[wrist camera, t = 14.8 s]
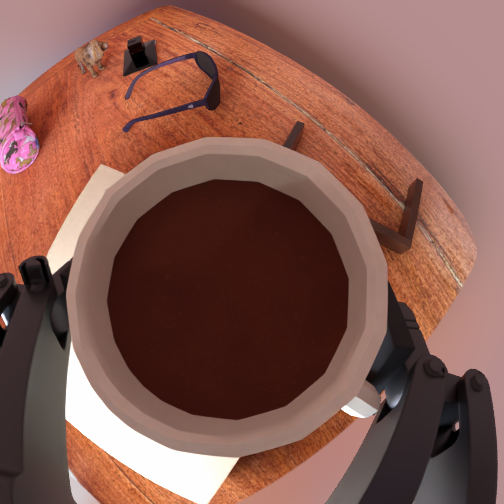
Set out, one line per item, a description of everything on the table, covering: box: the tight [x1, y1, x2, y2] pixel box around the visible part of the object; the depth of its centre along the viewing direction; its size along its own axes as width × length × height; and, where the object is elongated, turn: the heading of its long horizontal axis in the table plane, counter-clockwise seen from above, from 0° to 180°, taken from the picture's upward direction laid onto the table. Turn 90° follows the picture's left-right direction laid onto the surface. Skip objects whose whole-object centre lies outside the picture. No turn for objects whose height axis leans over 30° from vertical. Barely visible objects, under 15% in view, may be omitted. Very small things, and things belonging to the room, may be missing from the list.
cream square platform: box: [46, 164, 240, 504], centre depth 24 cm, size 27×26×6 cm
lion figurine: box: [75, 39, 108, 78], centre depth 37 cm, size 15×5×9 cm, turn 60°
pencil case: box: [0, 95, 40, 174], centre depth 32 cm, size 21×9×9 cm, turn 44°
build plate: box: [123, 36, 158, 76], centre depth 39 cm, size 12×7×5 cm, turn 18°
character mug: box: [66, 137, 388, 458], centre depth 11 cm, size 11×7×13 cm, turn 51°
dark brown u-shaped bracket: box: [283, 121, 423, 254], centre depth 30 cm, size 18×10×2 cm, turn 64°
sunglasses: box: [123, 51, 220, 132], centre depth 34 cm, size 14×16×5 cm
